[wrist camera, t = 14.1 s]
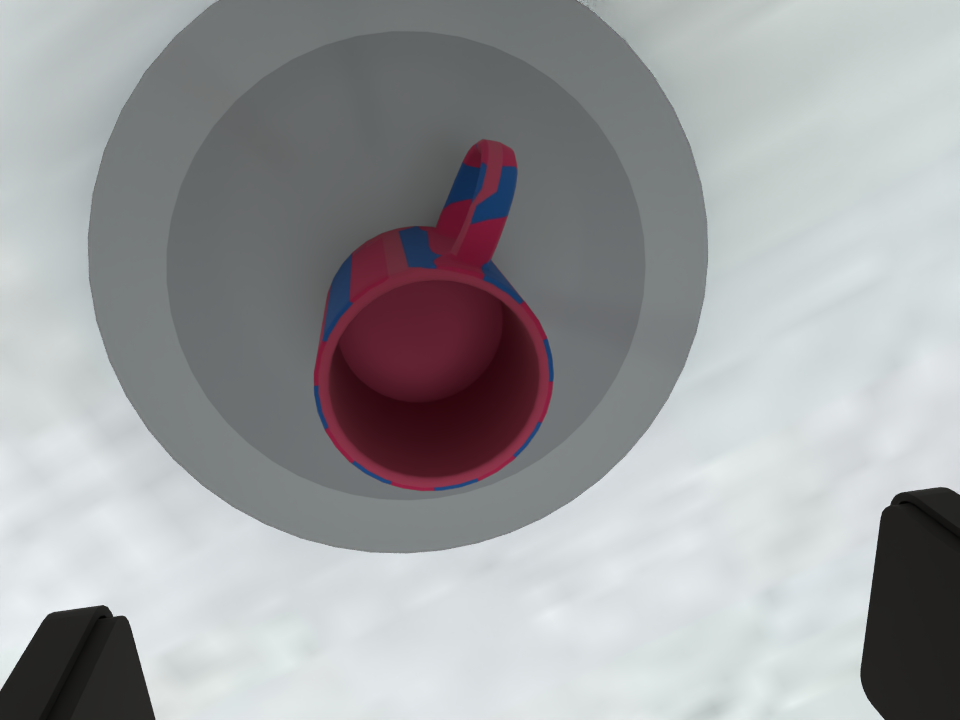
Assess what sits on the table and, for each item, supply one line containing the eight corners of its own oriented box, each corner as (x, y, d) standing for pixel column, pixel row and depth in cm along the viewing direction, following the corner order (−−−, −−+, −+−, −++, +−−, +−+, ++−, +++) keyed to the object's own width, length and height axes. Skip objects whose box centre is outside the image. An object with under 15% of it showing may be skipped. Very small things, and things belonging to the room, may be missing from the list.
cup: (296, 365, 27) (276, 447, 21) (407, 100, 25) (423, 101, 18) (463, 428, 29) (492, 521, 23) (581, 186, 27) (651, 214, 20)
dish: (24, -33, 23) (5, -40, 22) (704, -64, 26) (722, -73, 25) (169, 571, 31) (161, 592, 29) (687, 500, 33) (700, 515, 32)
